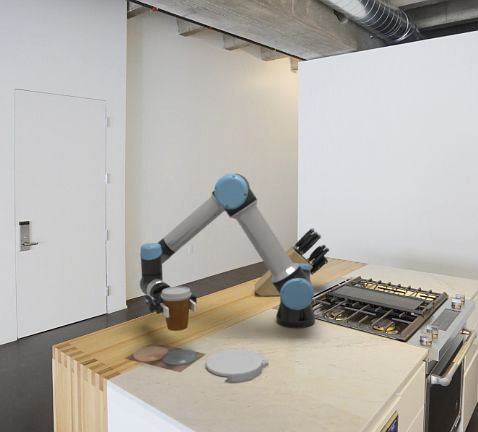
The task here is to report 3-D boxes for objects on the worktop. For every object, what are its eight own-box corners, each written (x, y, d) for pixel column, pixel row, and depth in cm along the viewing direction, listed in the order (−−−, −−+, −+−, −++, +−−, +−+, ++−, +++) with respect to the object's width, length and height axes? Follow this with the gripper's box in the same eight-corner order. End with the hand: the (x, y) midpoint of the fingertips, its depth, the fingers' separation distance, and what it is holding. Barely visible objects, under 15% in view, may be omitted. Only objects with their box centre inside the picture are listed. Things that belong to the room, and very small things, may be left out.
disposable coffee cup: (163, 322, 143) (162, 286, 141) (193, 321, 143) (191, 285, 142) (160, 333, 133) (158, 295, 132) (192, 332, 134) (190, 293, 133)
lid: (281, 370, 132) (281, 361, 132) (224, 390, 122) (223, 379, 121) (250, 351, 147) (249, 342, 146) (196, 367, 136) (195, 357, 136)
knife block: (330, 295, 206) (330, 230, 203) (255, 297, 206) (253, 232, 203) (325, 288, 217) (325, 226, 214) (254, 290, 218) (253, 228, 214)
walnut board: (206, 358, 141) (206, 353, 141) (180, 377, 129) (180, 372, 129) (152, 346, 152) (152, 342, 152) (124, 362, 140) (123, 358, 140)
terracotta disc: (175, 351, 144) (175, 349, 144) (153, 364, 135) (153, 363, 134) (149, 345, 149) (148, 344, 149) (126, 358, 140) (126, 356, 140)
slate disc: (204, 354, 141) (204, 353, 141) (183, 368, 131) (183, 367, 131) (176, 348, 146) (176, 347, 146) (155, 361, 137) (154, 360, 137)
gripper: (188, 298, 159) (213, 316, 138) (130, 307, 149) (148, 329, 129) (188, 278, 158) (213, 293, 138) (129, 286, 149) (147, 304, 128)
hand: (181, 310), depth 133 cm, fingers closed on disposable coffee cup, 8 cm apart
